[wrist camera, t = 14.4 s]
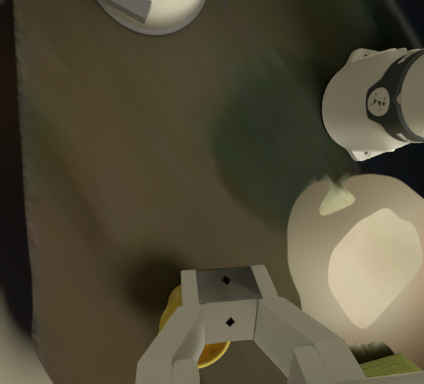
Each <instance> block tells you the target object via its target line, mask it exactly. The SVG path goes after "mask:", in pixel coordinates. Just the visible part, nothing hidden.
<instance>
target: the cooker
mask: <svg viewBox="0 0 424 384" xmlns="http://www.w3.org/2000/svg"><path fill="white" fill-rule="evenodd" d="M96 1H97V2H98V4H99V5H100V7H101V8H102V9H103V10H104V12H105V13H106V14H107V15H108V16H109V17H110V18H111V19H113V20H114V21H115V22H116V23H118V24H119V25H121V26H122V27H124V28H126V29H128V30H130V31H132V32H134V33H137V34H141V35H145V36H156V37H158V36H166V35H170V34H174V33H176V32H178V31H180V30H182V29H184V28H185V27H187V26H188V25H189V24H190V23H191V22H192V21H193V20H194V19H195V18H196V17H197V15H198V14H199V12H200V11H201V9H202V6H203V4H204V2H205V0H96ZM220 1H221V2H223V3H224V4H227V3H228V1H229V0H220Z"/></svg>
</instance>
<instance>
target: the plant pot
mask: <svg viewBox="0 0 424 384" xmlns="http://www.w3.org/2000/svg"><path fill="white" fill-rule="evenodd" d="M179 306H182V290H181V285H179V286H177V287H176V288H175V289H174V290H173V291H172V292H171V294H170V296H169V299H168V304H167V307H166V309H165V310H164V312H163V314H162V316H161V320H160V325H159V333H160V331H161V330H162V328H163V327H164V326H165V324H166V323H167V321H168V320H169V319H170V317H171V316H172V314H173V313H174V312H175V310H176V309H177V308H178V307H179ZM229 344H230V341H228V342H220V343H213V344H206V345H204V348H203V351H202V353H201V355H200V357H199V359H198V369H199V368H203V367H206V366H208V365H210V364H212V363H213V362H215V361H216V360H218V359H219V358H220V357H221V356H222V355H223V354H224V352H225V351H226V349H227V348H228V346H229Z"/></svg>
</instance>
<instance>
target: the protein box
mask: <svg viewBox="0 0 424 384" xmlns="http://www.w3.org/2000/svg"><path fill="white" fill-rule="evenodd" d="M359 366H360V367H361V369H362V371H363V372H364V374H365V376H366V377H367V378H372V377H380V376H387V375H395V374H403V373H410V372H418V371H422V370H421V369H420V368H419V367H417V366H416V365H415V364H414V363H413V362H411V361H410V360H409V359H408V358H406V357H405V356H404V355H403V354H402V353H398V354H395V355H391V356H387V357H384V358H380V359H377V360H373V361H370V362H366V363H363V364H359Z"/></svg>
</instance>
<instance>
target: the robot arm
mask: <svg viewBox="0 0 424 384" xmlns="http://www.w3.org/2000/svg"><path fill="white" fill-rule="evenodd" d="M364 56H365V57H364ZM322 117H323V122H324V125H325V128H326V130H327V132H328V134H329V135H330V136H331V138H332V139H333V140H334V141H335V142H336V143H338V144H339V145H341V146H342V147H344V148H345V149H346V150H347V151H348V153H349V154H350V156H351V157H352V158H353V159H354V160H355V161H363V160H365V159H368V158H371V157H373V156H376V155H379V154H381V153H384V152H392V151H394V150H395V149H396V148H399V147H402V146H404V145H406V144H409V143H411V142H412V143H423V142H424V49H413V50H409V51H407V49H406V48H400V49H396V48H393V49H388V50H385V51H382V52H378V51H373V50H368V49H363V48H360V49H356V50H354V51H353V52H352V53H351V55H350V57H349V59H348V61H347V63H346V65H345V66H344V67H343V68H342V69H341V70H340V71H339V72H337V73H336V74H335V75H334V77H333V78H332V79H331V81H330V82H329V84H328V86H327V88H326V90H325V93H324V97H323V101H322ZM364 152H365V154H364ZM181 290H182V306H179V307H178V308H177V309H176V310H175V312H174V313H173V314H172V316H171V317H170V319H169V320H168V321H167V323H166V324H165V326H164V327H163V328H162V330H161V331H160V333H159V334H158V335H157V337H156V338H155V339H154V341H153V342H152V344H151V345H150V346H149V348H148V349H147V351H146V352H145V353H144V355H143V356H142V358H141V359H140V360H139V362H138V365H137V374H136V383H135V384H200V380H199V370H198V359H199V357H200V355H201V353H202V351H203V348H204V345H206V344H213V343H220V342H228V341H239V340H252V339H254V341H255V342H256V344H257V345H258V346H259V347H260V348H261V349H262V350H263V351H264V352H265V353H266V354H267V356H268V357H269V358H270V359H271V360H272V361H273V362H274V363H275V364H276V365H277V366H278V368H279V369H280V370H281V371H282V372H283V373H284V374H285V375H286V376H287V377H288V381H287V384H424V371H418V372H410V373H403V374H395V375H387V376H380V377H372V378H367V377H366V376H365V374H364V372H363V371H362V369H361V367H360V366H359V364H358V362H357V361H356V359H355V357H354V356H353V354H352V352H351V351H350V349H349V347H348V346H347V344H346V343H345V341H344V340H343V339H342V338H340V337H339V336H337V335H336V334H335V333H333V332H332V331H330V330H329V329H328V328H326V327H325V326H323V325H322V324H320V323H319V322H317V321H316V320H315V319H313V318H312V317H310V316H309V315H308V314H306V313H305V312H303V311H302V310H301V309H299V308H298V307H296V306H295V305H293V304H292V303H291V302H289V301H288V300H286V299H285V298H283V297H278V294H277V292H276V290H275V288H274V285H273V283H272V281H271V279H270V277H269V274H268V272H267V270H266V268H265V266H264V265H263V264H262V265H251V266H243V267H231V268H216V269H197V270H182V271H181Z"/></svg>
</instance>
